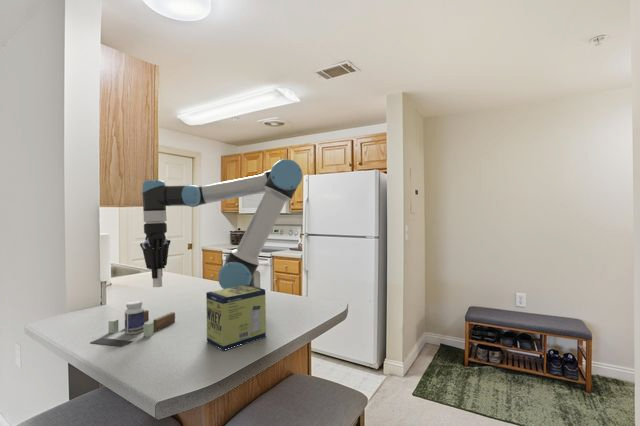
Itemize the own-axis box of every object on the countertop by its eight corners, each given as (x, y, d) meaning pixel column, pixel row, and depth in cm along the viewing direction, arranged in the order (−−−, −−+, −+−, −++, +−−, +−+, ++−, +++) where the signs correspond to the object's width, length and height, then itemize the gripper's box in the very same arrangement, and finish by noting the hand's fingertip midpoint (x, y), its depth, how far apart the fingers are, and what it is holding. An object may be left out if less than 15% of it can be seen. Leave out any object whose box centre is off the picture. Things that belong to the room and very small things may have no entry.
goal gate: (153, 334, 107) (153, 322, 107) (148, 336, 105) (148, 324, 105) (113, 330, 111) (113, 319, 111) (108, 332, 109) (108, 320, 109)
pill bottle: (148, 329, 112) (147, 300, 112) (135, 335, 107) (135, 305, 107) (134, 328, 113) (133, 299, 113) (120, 334, 108) (120, 304, 108)
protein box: (205, 342, 101) (205, 292, 101) (248, 329, 112) (248, 284, 112) (222, 352, 93) (222, 297, 93) (266, 337, 105) (266, 288, 105)
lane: (174, 322, 120) (174, 312, 120) (157, 330, 111) (157, 320, 111) (145, 319, 123) (145, 310, 123) (125, 327, 114) (125, 317, 114)
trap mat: (132, 341, 101) (132, 341, 101) (121, 346, 97) (121, 346, 97) (101, 338, 104) (101, 337, 104) (89, 343, 100) (89, 342, 100)
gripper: (159, 222, 127) (161, 282, 127) (132, 223, 114) (135, 290, 114) (175, 221, 125) (178, 283, 125) (150, 223, 112) (153, 291, 112)
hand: (157, 286), depth 119 cm, fingers closed
